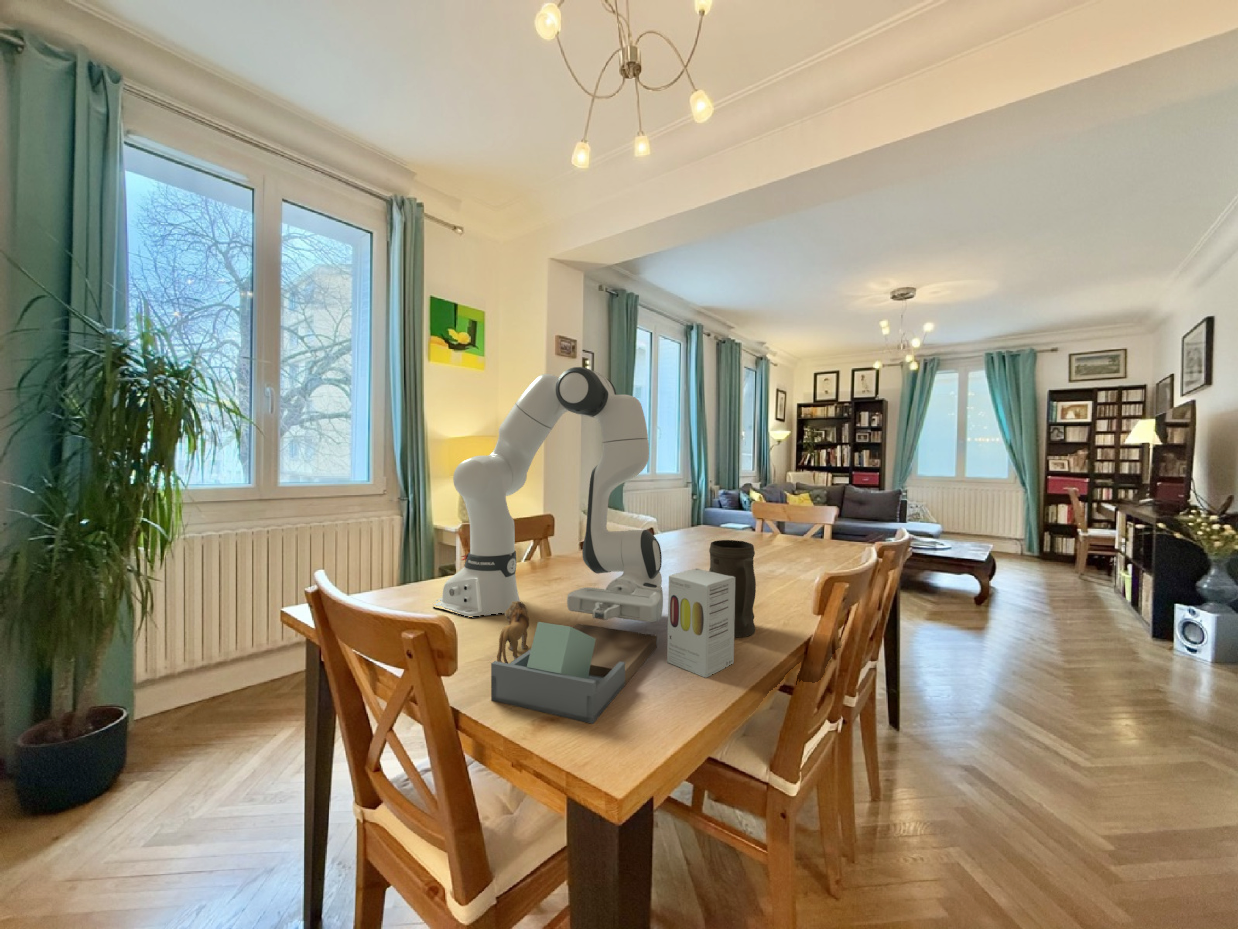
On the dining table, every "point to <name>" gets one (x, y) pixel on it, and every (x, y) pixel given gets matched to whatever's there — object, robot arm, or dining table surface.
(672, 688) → the dining table surface
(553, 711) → the box
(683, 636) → the supplement box
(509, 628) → the lion figurine
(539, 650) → the sage block
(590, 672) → the brown wooden board
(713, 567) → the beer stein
